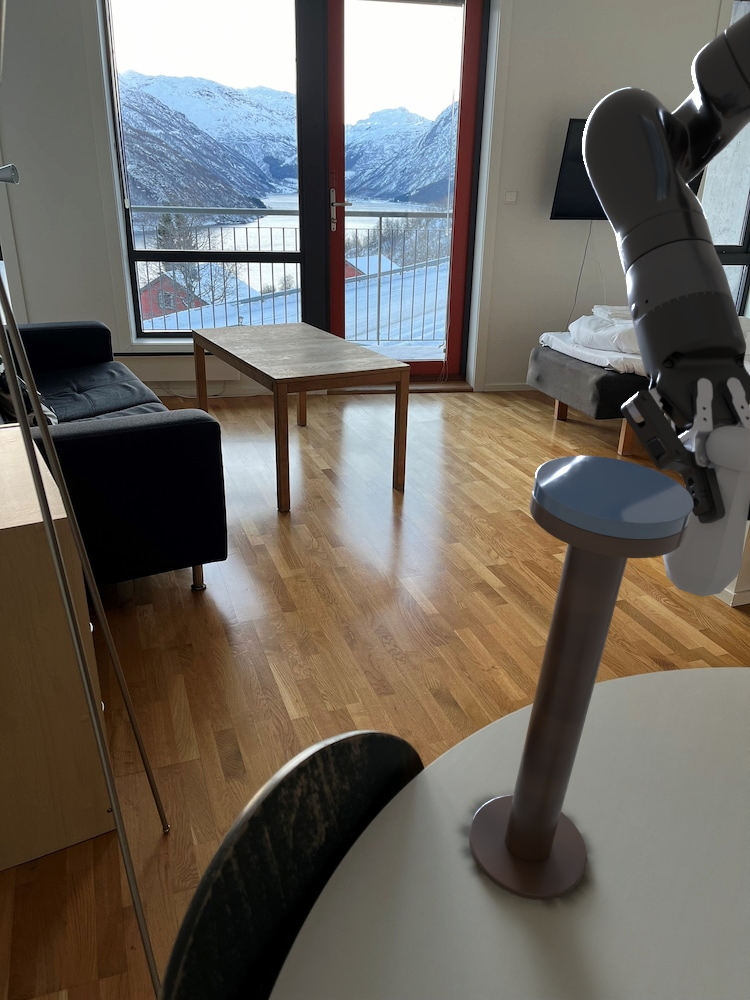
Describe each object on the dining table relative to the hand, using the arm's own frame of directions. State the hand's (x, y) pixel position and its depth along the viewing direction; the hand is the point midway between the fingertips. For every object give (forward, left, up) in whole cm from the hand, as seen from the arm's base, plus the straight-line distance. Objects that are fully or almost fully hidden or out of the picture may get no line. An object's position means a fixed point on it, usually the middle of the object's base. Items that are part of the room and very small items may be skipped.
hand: (736, 518), depth 54 cm
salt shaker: (-1, -1, -7) cm, 7 cm away
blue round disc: (+14, -8, +5) cm, 17 cm away
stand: (+14, -8, -26) cm, 31 cm away
